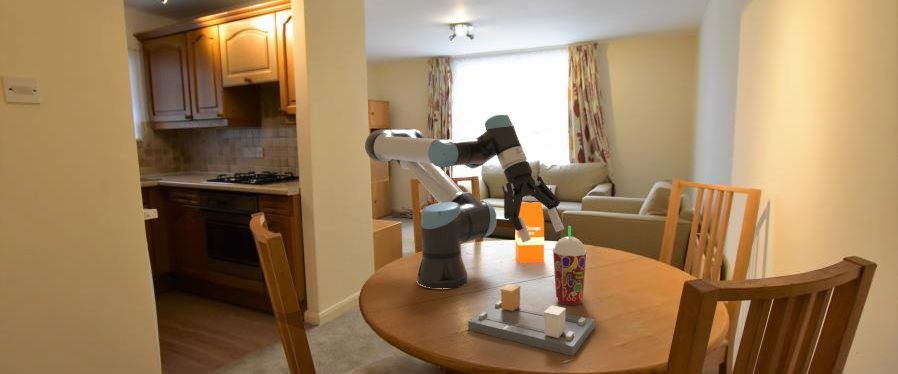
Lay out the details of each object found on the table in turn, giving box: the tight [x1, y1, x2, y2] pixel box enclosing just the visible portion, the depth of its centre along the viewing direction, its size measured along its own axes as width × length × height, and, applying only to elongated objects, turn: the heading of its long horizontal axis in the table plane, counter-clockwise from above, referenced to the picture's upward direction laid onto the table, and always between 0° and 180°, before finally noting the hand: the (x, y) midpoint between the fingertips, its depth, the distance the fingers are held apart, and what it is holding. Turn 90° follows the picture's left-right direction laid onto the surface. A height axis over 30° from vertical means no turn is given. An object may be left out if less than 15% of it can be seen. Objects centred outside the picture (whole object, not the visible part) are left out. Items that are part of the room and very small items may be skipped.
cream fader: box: [544, 304, 567, 338], centre depth 93 cm, size 3×4×5 cm
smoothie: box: [552, 225, 587, 306], centre depth 115 cm, size 8×8×20 cm
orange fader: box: [500, 283, 521, 311], centre depth 107 cm, size 3×4×5 cm
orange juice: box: [514, 201, 545, 263], centre depth 155 cm, size 8×9×20 cm
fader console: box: [468, 299, 596, 357], centre depth 100 cm, size 24×15×3 cm, turn 56°
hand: (544, 235), depth 122 cm, fingers open, 13 cm apart
